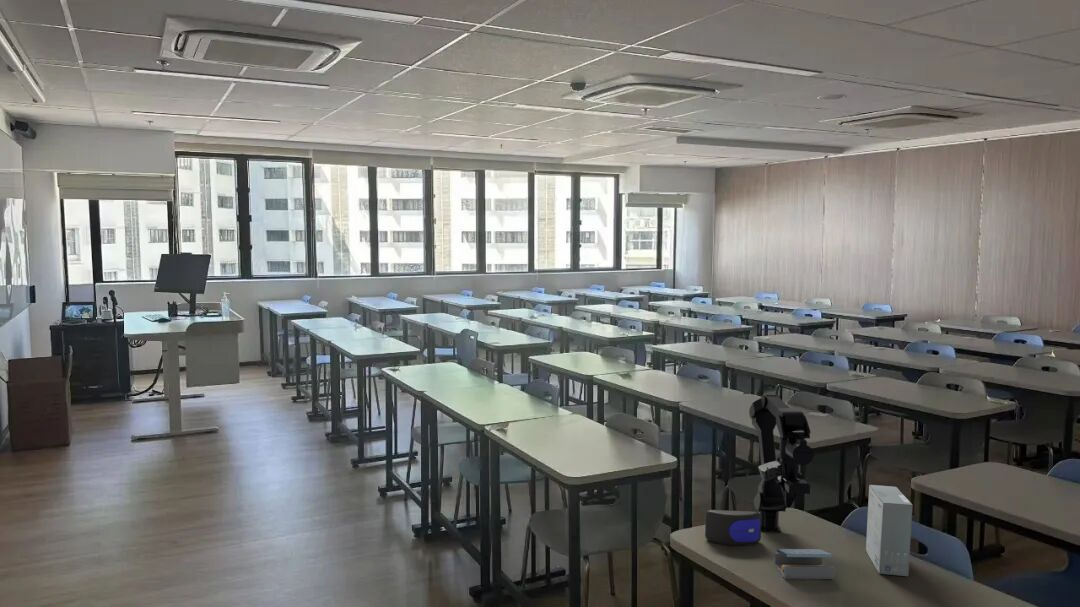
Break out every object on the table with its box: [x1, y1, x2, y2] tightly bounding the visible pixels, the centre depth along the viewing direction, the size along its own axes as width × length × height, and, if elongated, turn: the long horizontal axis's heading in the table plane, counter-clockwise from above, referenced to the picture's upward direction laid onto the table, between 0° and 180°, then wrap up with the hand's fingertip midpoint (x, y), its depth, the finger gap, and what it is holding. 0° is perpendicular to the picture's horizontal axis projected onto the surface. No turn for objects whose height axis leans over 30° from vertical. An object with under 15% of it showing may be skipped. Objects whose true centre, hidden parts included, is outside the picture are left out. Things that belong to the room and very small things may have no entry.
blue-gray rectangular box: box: [776, 548, 833, 558], centre depth 193 cm, size 8×12×1 cm
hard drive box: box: [865, 484, 914, 577], centre depth 198 cm, size 16×8×20 cm, turn 168°
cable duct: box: [773, 552, 835, 581], centre depth 193 cm, size 9×13×4 cm, turn 90°
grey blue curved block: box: [704, 509, 762, 547], centre depth 211 cm, size 16×5×9 cm, turn 84°
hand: (788, 507), depth 205 cm, fingers closed
